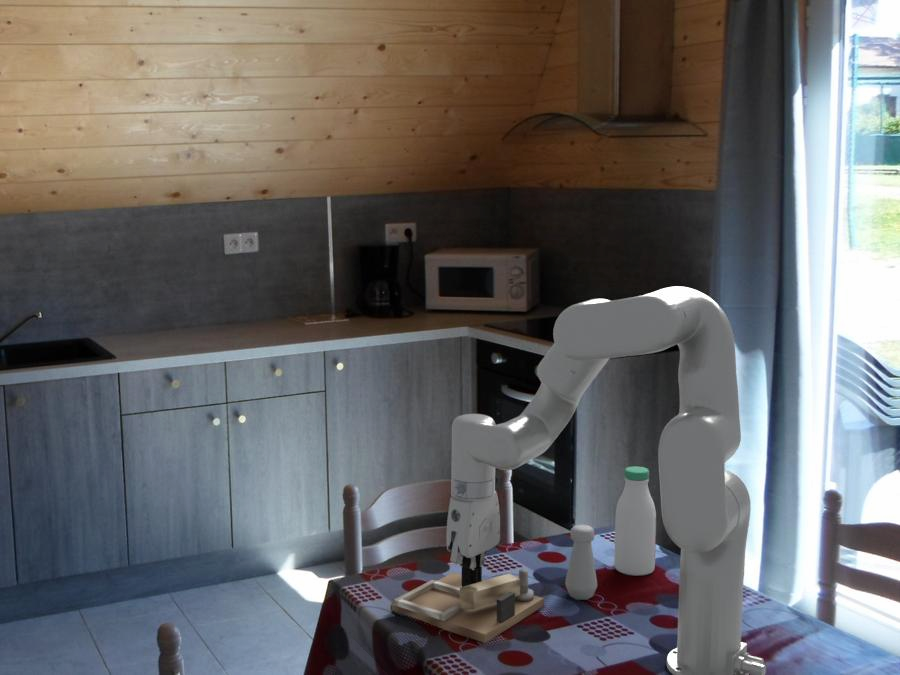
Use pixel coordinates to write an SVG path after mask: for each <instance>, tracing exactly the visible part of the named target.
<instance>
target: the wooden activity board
mask: <svg viewBox="0 0 900 675" xmlns="http://www.w3.org/2000/svg"><path fill="white" fill-rule="evenodd" d="M518 578H519V579H520V595H519V596H515V593H513V592H508V593H507V594H505V595H503V596H502V597H500V598H498V599H497V602H496V603H492V604H489V605H486V606H482V607H479V608H476V609H472V610H465V609H462V608H460V588H461V587H462V574H461V573H460V574H459V573H456V572H451V573H449V574H447V575H446V576H443V577H442V578H440V579H438V580H434V579H431V580H428V582H425V583H423V584H421V585H419V586H418V587H416V588H413V589H412V590H410V591H408V592H406V593H404V594H402V595H400V596H398V597H396V598H394V599H393V603H392V604H391V611H392V610H393V611H396V612H399V613H402V614H405V615H408V616H411V617H413V618H416V619H419V620H422V621H424V622H426V623H429V624H431V625H430V626H432V625H434V626H433V627H435V626H437V627H436V628H438V627H439V628H438V629H441V628H442V629H441V630H444V631H447V632H450V633H454V634H457V635H460V636H462V637H466V638H469V639H471V640H476V641H478V642H481V643H484V644H486V643H488V642H489V641H491V640H492V639H494V638H496V637H497V636H499V635H500V634H501V633H503V632H505V631H507V630H508V629H510V628H512V627H513V626H515V625H516V624H518V623H519V622H521V621H522V620H524V619H526V618H527V617H529V616H531V615H533V613H535V612H537V611H539V610H540V609H542V608H543V607H544V606H545V605H544V603H545V598H544V597H541V596H538V595H536V594H535V595H534V590H533V589H531V588H529V570H528V569H524V568H523V569H519V570H518ZM426 623H425V624H426ZM429 624H428V625H429Z"/></svg>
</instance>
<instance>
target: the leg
mask: <svg viewBox="0 0 900 675" xmlns="http://www.w3.org/2000/svg"><path fill="white" fill-rule="evenodd" d="M508 592H513V593H515V596H519V595H520V579H519V577H517V576H516V575H514V574H511V573H507V574H503V575H500V576H495V577H491V578H488V579H486V580H485V579H484V580H482V581H481V582H478V583H474V584H471V585H467V586H464V587H461V588H460V608H462V609H465V610H472V609H476V608H479V607H482V606H486V605H489V604H492V603H496V602H497V599H498V598H500V597H502V596H503V595H505V594H507V593H508Z"/></svg>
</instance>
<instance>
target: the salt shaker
mask: <svg viewBox="0 0 900 675" xmlns="http://www.w3.org/2000/svg"><path fill="white" fill-rule="evenodd" d="M594 539H595V529H594V528H593V527H592V526H591V525H586V524H577V525H576V524H575V525H574V526H573V527H572V528H570V540H572V541H573V544H572V550H571V554H570V559H569V563H568V567H567V571H566V572H567V573H566V577H565V588H566V590H567V592H568V595H569V597H571V598H573V599H575V600H576V601H577V600H584V601H587V600H589V599H591V598H593V597H594V594H595V592H596V590H597V588H598V579H597V574H596V571H597V570H596V567H595V560H594V553H593V552H594V551H593V546H592V542H593V541H594Z"/></svg>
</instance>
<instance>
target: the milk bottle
mask: <svg viewBox="0 0 900 675" xmlns="http://www.w3.org/2000/svg"><path fill="white" fill-rule="evenodd" d="M649 478H650V470H649V468H646V467H645V466H635V465H633V466H628V467H625V468H624V481H625V485H624V488H623V491H622V493H621V495H620V497H619V499H618V502H617V504H616V510H615V518H614V519H615V520H614V522H615V523H614V524H615V525H614V561H613V562H614V564H613V565H614V568H615V570H616V571H617V572H619V573H622V574H624V575H627V576H638V577H639V576H646V575H649V574H652V573H653V572H654V571H655V567H656V543H657V542H656V540H657V535H656V534H657V512H656V506H655V503H654V500H653V497H652V496H651V492H650V489H649V486H648V483H649V480H650V479H649Z"/></svg>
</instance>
